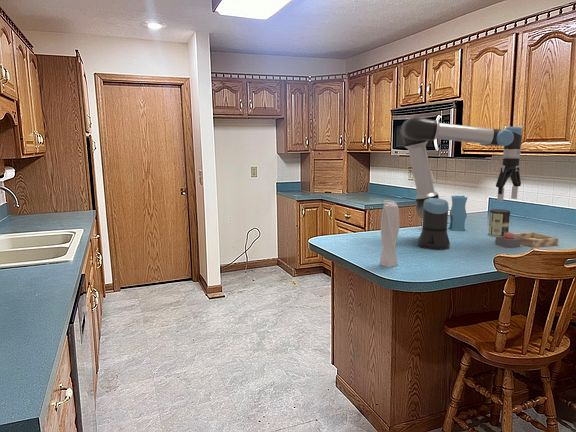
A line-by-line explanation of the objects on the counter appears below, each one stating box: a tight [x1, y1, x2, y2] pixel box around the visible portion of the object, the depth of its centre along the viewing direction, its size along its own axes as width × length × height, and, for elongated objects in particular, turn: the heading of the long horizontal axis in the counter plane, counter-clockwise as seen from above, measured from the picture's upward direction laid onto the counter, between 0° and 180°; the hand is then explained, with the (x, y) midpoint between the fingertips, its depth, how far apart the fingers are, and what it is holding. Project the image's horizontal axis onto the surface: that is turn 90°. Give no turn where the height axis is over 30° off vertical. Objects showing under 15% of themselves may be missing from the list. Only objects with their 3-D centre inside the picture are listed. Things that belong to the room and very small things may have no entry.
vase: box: [448, 195, 469, 232], centre depth 255 cm, size 8×8×20 cm
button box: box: [494, 236, 522, 249], centre depth 216 cm, size 8×8×4 cm
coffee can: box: [487, 208, 511, 238], centre depth 239 cm, size 10×10×14 cm
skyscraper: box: [379, 199, 400, 268], centre depth 179 cm, size 8×7×28 cm
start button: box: [503, 232, 514, 239], centre depth 215 cm, size 4×4×4 cm
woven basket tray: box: [513, 231, 559, 248], centre depth 222 cm, size 16×16×4 cm
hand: (507, 199), depth 220 cm, fingers open, 13 cm apart
